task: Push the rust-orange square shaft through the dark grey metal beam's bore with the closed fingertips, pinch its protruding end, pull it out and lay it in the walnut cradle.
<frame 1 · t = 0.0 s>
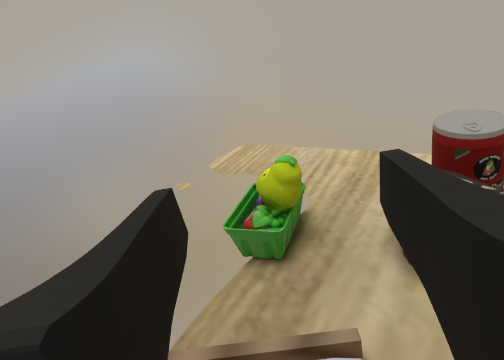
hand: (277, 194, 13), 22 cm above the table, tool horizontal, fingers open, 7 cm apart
fruit basket: (277, 237, 47), on the table
canned food: (464, 204, 46), on the table
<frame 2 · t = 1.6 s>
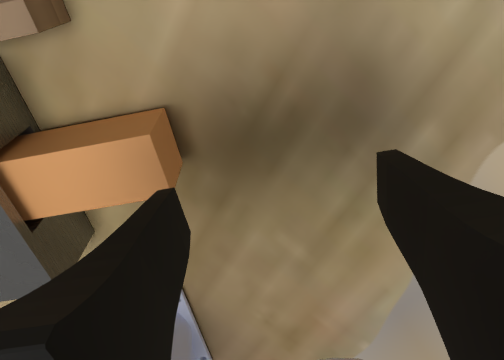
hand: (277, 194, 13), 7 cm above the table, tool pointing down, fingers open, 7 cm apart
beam: (19, 161, 20), on the table
shaft: (31, 162, 20), on the table, touching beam
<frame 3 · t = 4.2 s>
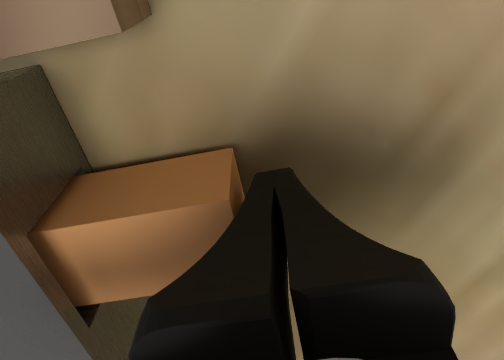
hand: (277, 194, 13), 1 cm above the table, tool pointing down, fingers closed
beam: (61, 211, 15), on the table
shaft: (41, 220, 14), point 1 cm above the table, touching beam, gripper
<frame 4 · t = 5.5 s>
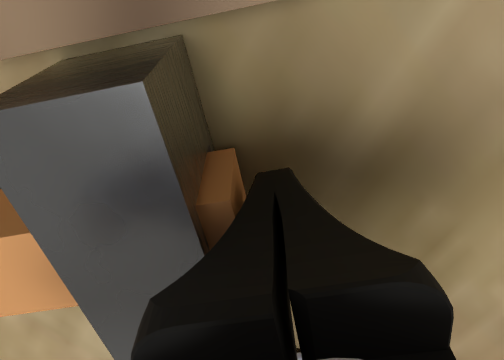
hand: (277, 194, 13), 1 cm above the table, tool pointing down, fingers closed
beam: (173, 191, 14), on the table
shaft: (43, 219, 14), on the table, touching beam, gripper
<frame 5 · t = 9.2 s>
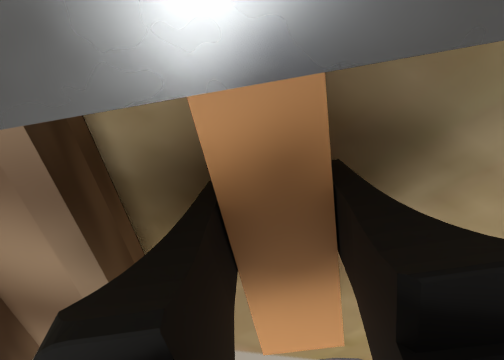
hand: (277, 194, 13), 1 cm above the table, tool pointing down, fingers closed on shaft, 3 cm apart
shaft: (267, 135, 13), on the table, touching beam, gripper
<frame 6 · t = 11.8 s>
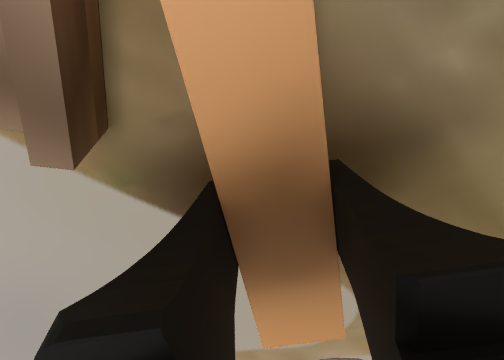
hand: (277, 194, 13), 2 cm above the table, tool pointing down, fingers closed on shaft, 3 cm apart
shaft: (264, 122, 13), on the table, touching gripper
when the fingers open (4 cm above the table, at t = 14.6 s): shaft drops 1 cm, resting on cradle.
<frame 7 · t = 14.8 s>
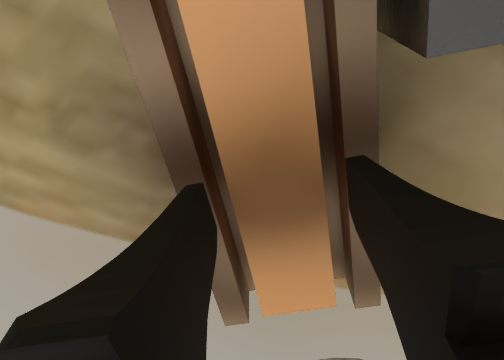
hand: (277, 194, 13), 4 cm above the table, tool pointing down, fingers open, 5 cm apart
cradle: (263, 100, 15), on the table
shaft: (264, 112, 14), point 1 cm above the table, touching cradle
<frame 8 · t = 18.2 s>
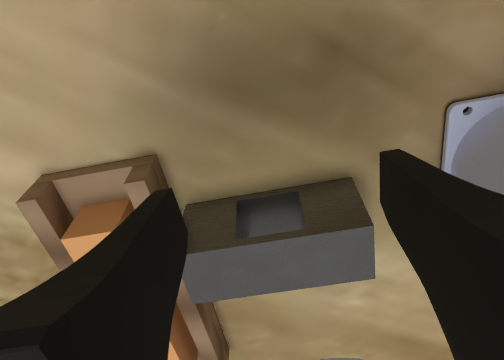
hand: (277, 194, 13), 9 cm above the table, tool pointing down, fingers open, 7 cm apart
cradle: (151, 277, 28), on the table
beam: (271, 215, 25), on the table
shaft: (149, 288, 27), point 1 cm above the table, touching cradle
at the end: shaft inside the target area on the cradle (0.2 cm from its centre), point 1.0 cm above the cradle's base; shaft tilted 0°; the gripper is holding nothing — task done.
